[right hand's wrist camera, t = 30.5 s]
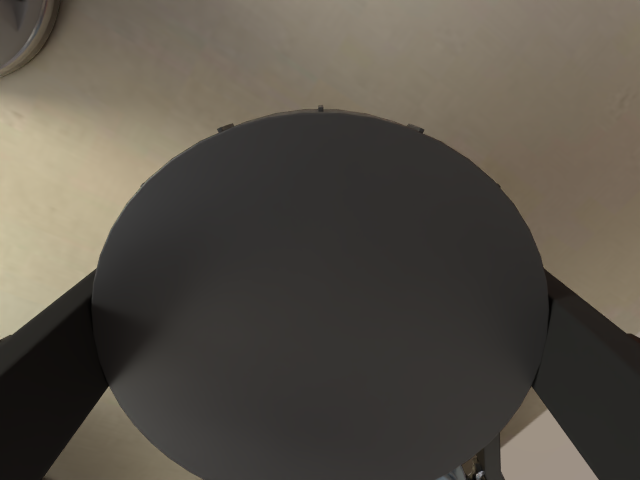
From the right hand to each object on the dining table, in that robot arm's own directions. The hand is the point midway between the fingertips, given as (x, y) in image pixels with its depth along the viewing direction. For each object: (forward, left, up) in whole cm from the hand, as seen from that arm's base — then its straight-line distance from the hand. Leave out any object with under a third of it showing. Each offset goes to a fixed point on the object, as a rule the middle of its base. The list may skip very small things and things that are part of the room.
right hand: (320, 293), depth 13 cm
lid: (0, 0, +3) cm, 3 cm away
